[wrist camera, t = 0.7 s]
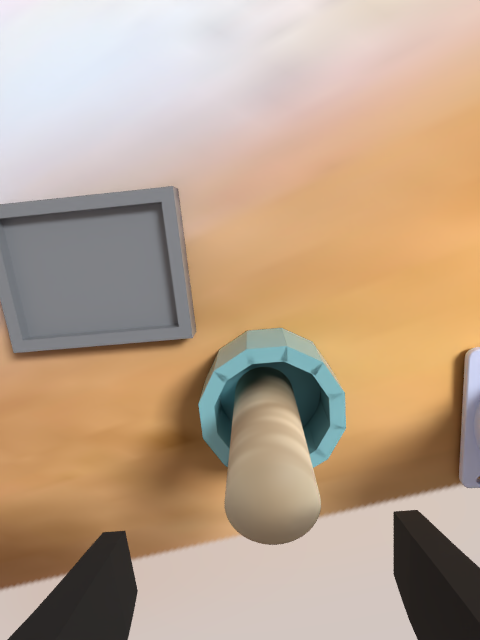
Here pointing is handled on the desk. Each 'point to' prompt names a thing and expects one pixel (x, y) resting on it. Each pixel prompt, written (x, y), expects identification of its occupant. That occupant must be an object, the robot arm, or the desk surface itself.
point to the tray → (95, 270)
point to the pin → (269, 462)
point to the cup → (304, 375)
